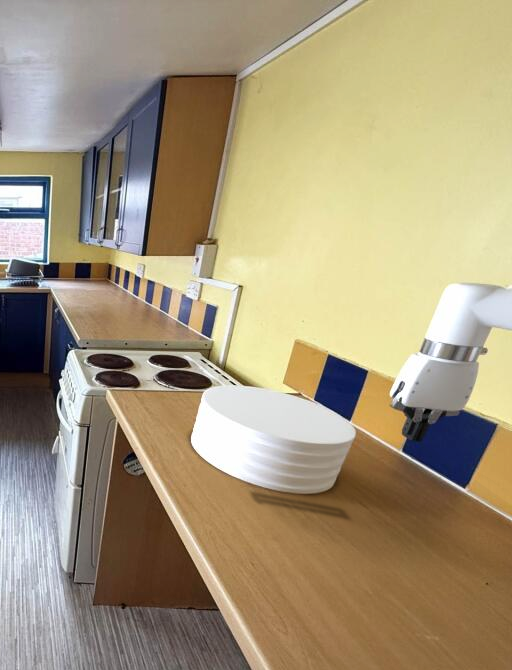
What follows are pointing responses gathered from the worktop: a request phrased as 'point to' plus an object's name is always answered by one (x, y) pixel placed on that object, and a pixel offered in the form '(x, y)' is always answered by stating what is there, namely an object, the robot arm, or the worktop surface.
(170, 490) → the worktop surface
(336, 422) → the plate stack
